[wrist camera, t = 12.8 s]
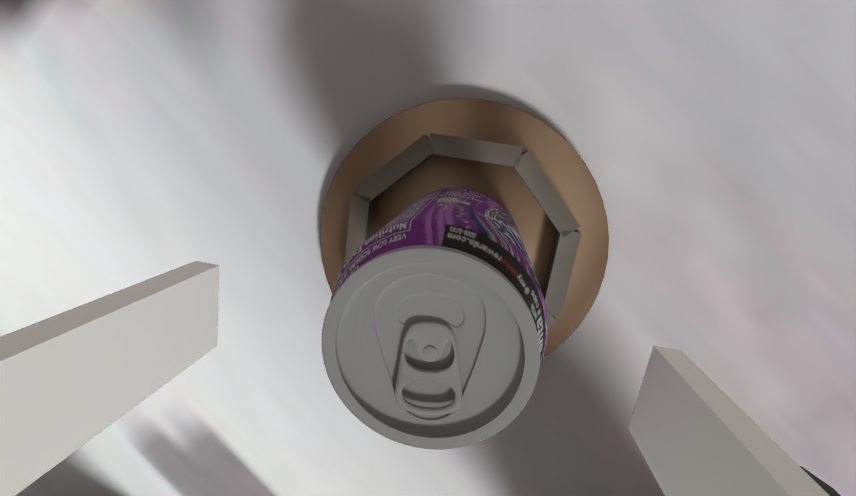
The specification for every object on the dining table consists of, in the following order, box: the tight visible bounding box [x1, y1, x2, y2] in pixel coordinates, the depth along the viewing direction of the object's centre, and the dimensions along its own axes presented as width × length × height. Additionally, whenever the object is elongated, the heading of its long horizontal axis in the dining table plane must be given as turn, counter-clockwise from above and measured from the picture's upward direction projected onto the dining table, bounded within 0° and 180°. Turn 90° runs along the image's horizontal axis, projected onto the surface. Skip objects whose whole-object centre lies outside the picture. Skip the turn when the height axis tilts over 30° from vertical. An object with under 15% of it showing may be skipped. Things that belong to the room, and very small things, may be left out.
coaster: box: [320, 99, 609, 357], centre depth 23 cm, size 16×16×2 cm
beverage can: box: [322, 188, 548, 449], centre depth 17 cm, size 7×7×12 cm
